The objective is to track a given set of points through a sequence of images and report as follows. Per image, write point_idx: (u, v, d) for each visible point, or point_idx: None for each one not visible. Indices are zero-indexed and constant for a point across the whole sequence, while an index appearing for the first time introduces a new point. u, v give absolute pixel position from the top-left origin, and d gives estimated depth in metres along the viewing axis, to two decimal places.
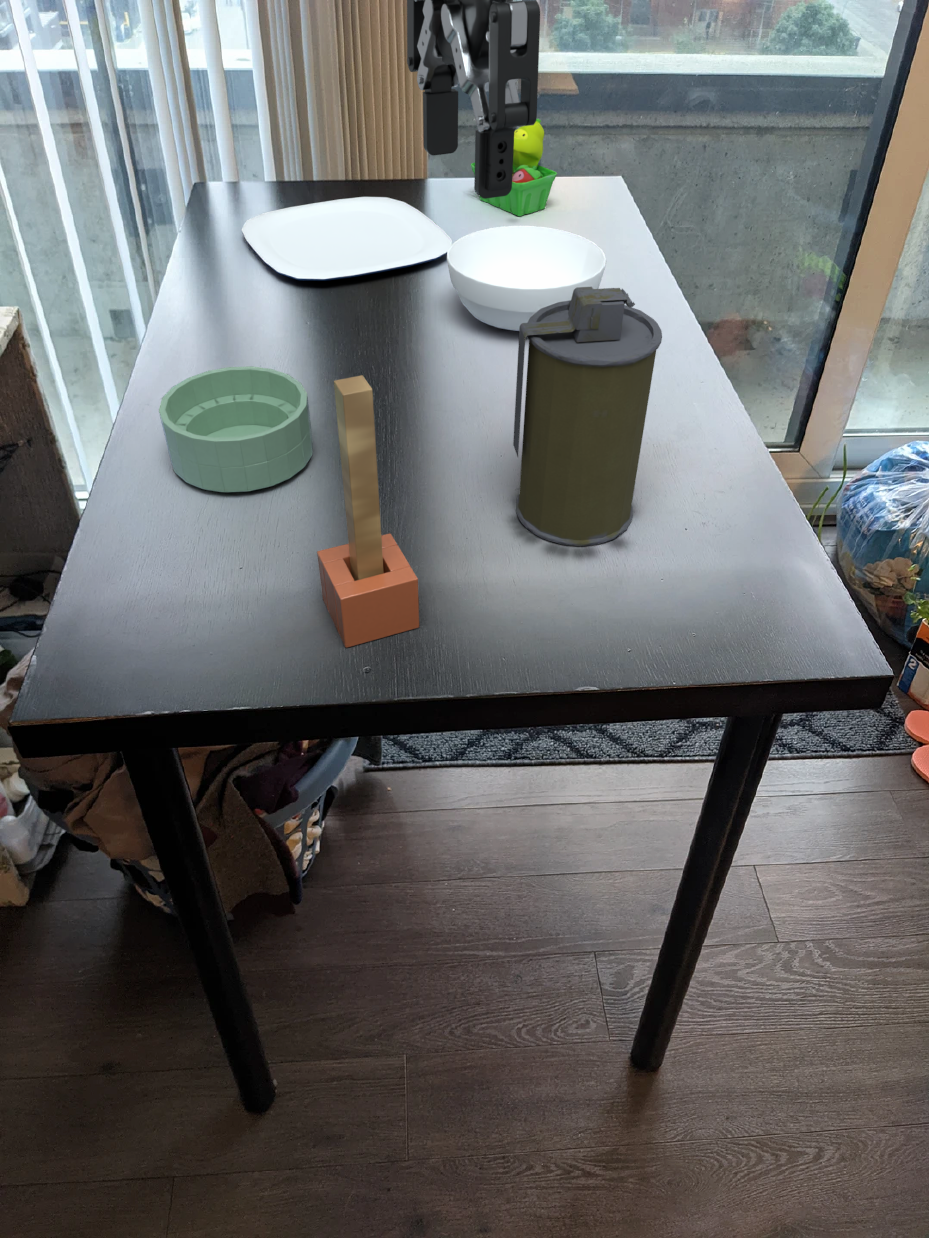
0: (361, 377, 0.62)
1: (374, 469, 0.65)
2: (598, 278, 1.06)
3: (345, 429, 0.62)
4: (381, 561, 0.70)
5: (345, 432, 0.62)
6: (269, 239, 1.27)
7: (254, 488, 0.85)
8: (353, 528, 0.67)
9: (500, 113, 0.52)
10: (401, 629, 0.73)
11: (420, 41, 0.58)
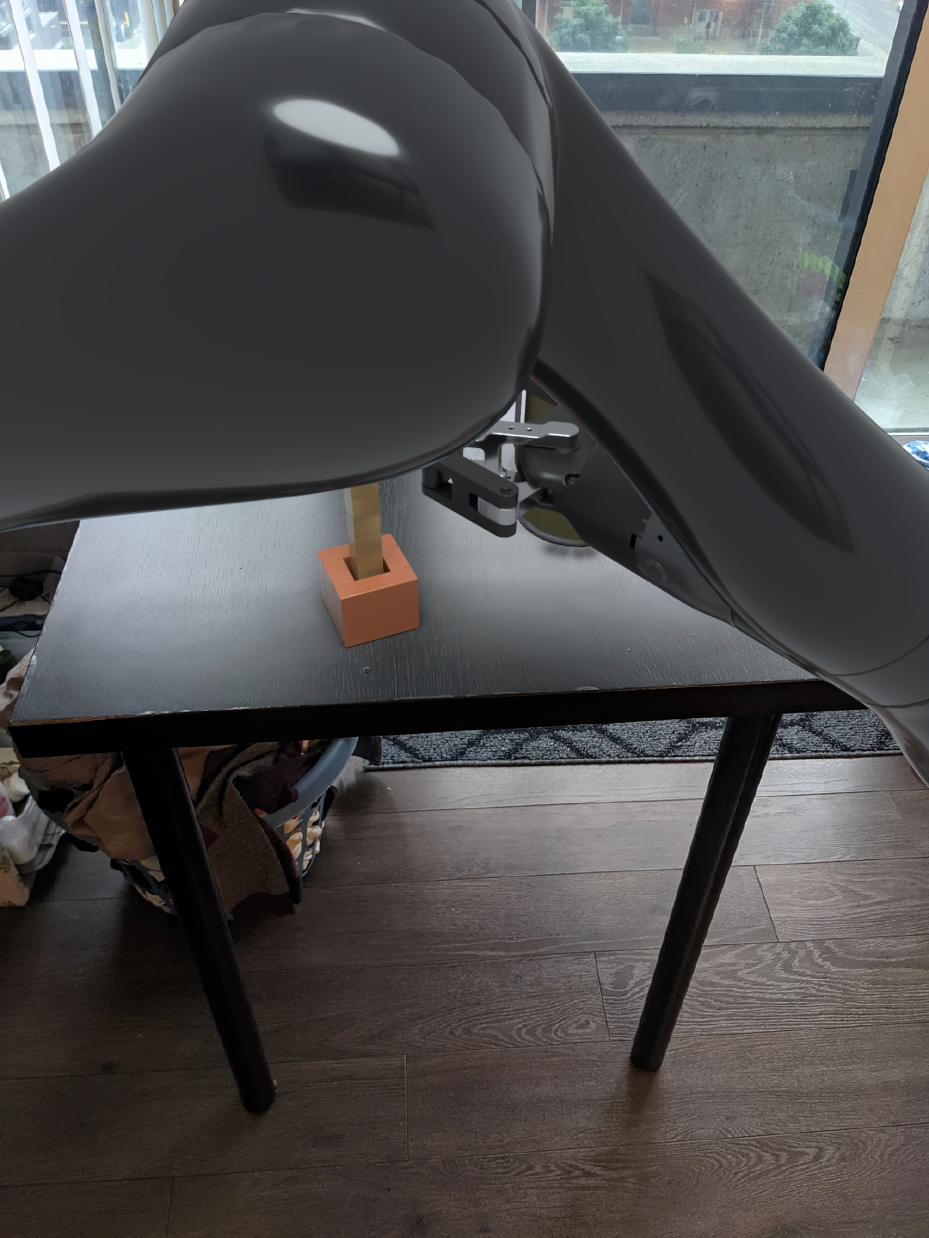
0: None
1: None
2: None
3: None
4: (381, 561, 0.70)
5: None
6: None
7: None
8: (353, 528, 0.67)
9: None
10: (401, 629, 0.73)
11: None
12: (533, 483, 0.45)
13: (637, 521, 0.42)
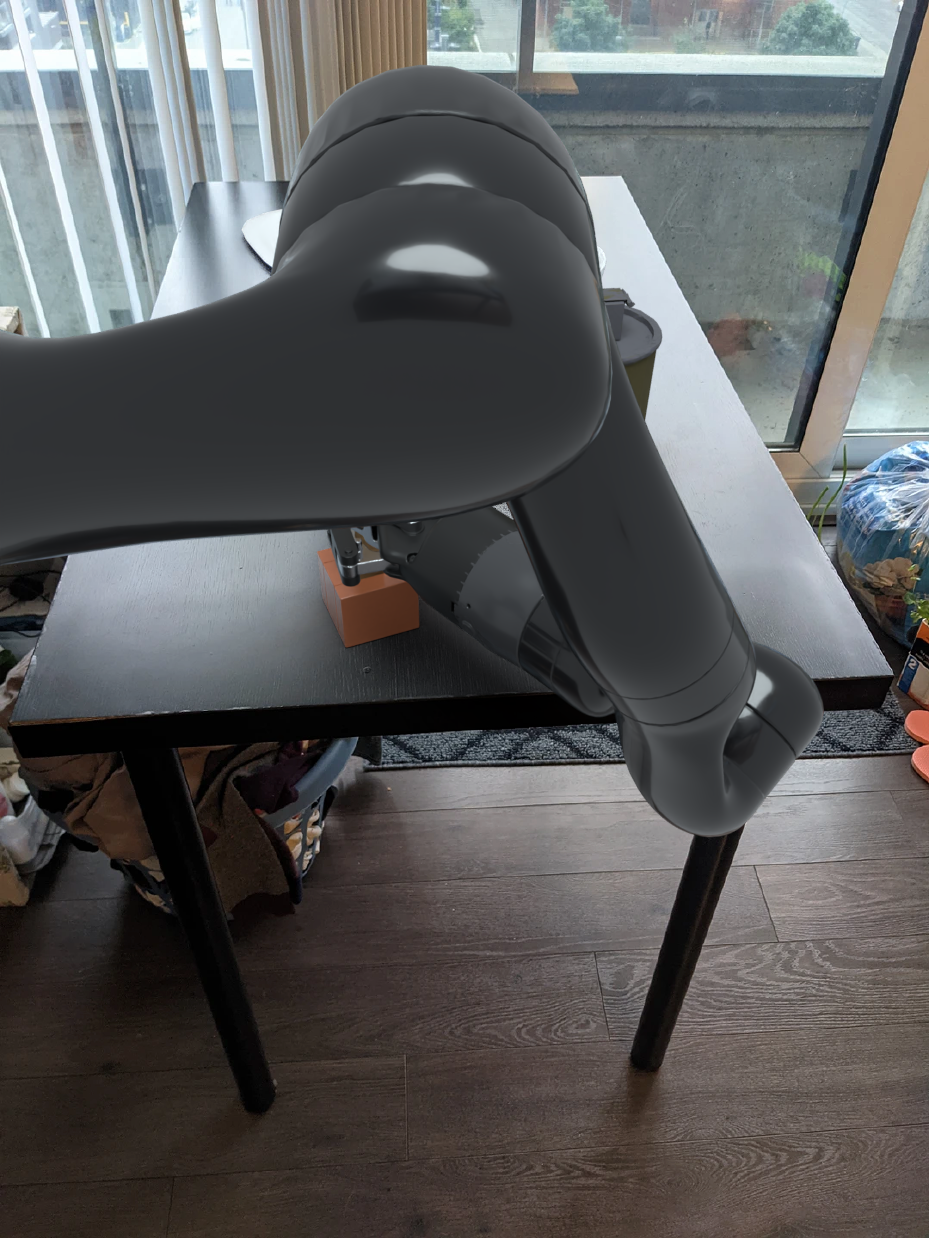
0: None
1: None
2: None
3: None
4: None
5: None
6: (269, 239, 1.27)
7: None
8: None
9: None
10: (401, 629, 0.73)
11: None
12: (380, 554, 0.60)
13: (454, 592, 0.57)
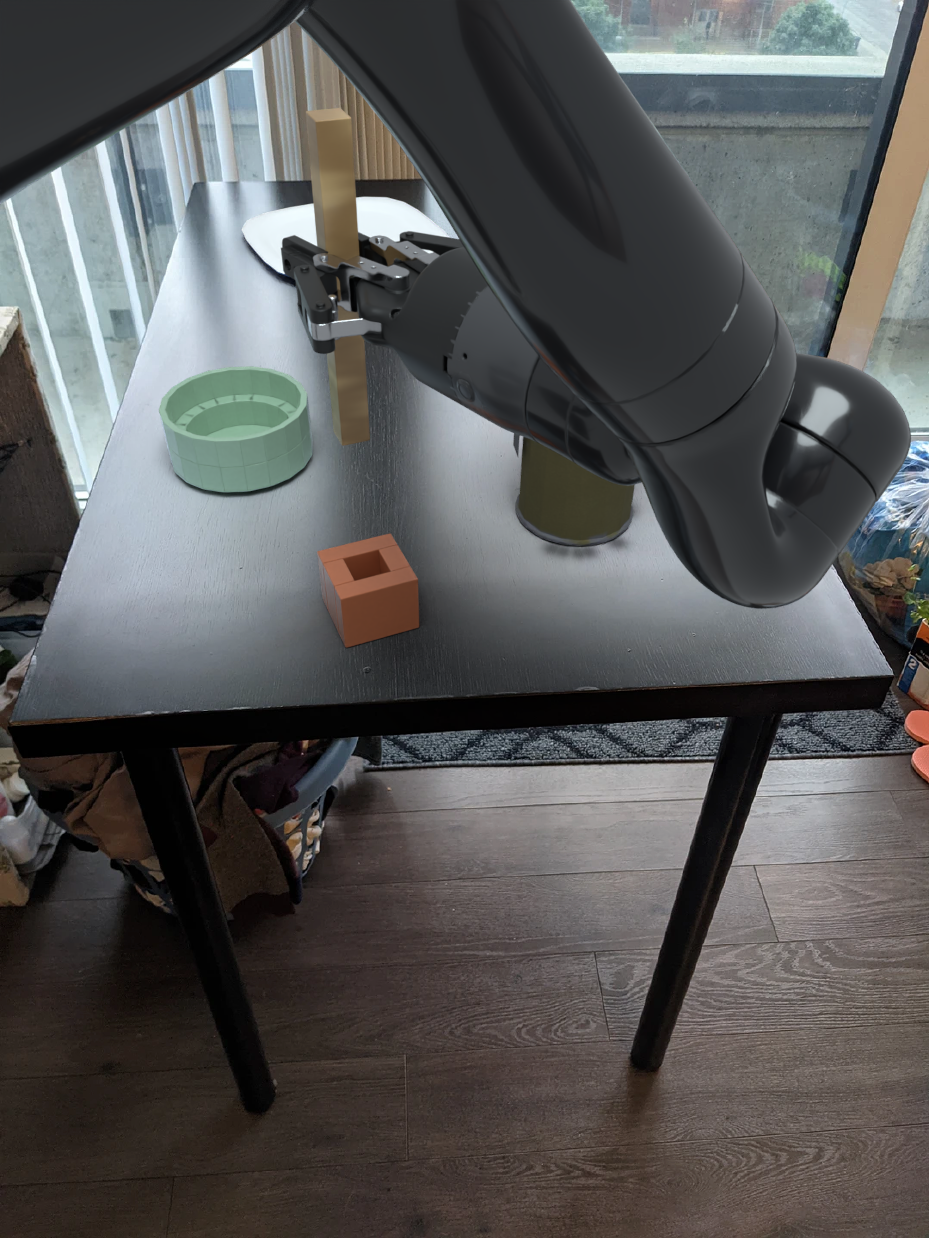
0: (338, 109, 0.52)
1: (354, 233, 0.55)
2: None
3: (319, 172, 0.52)
4: (363, 362, 0.60)
5: (319, 177, 0.52)
6: (269, 239, 1.27)
7: (254, 488, 0.85)
8: None
9: (295, 275, 0.52)
10: (401, 629, 0.73)
11: (410, 245, 0.54)
12: (359, 314, 0.50)
13: (447, 343, 0.47)
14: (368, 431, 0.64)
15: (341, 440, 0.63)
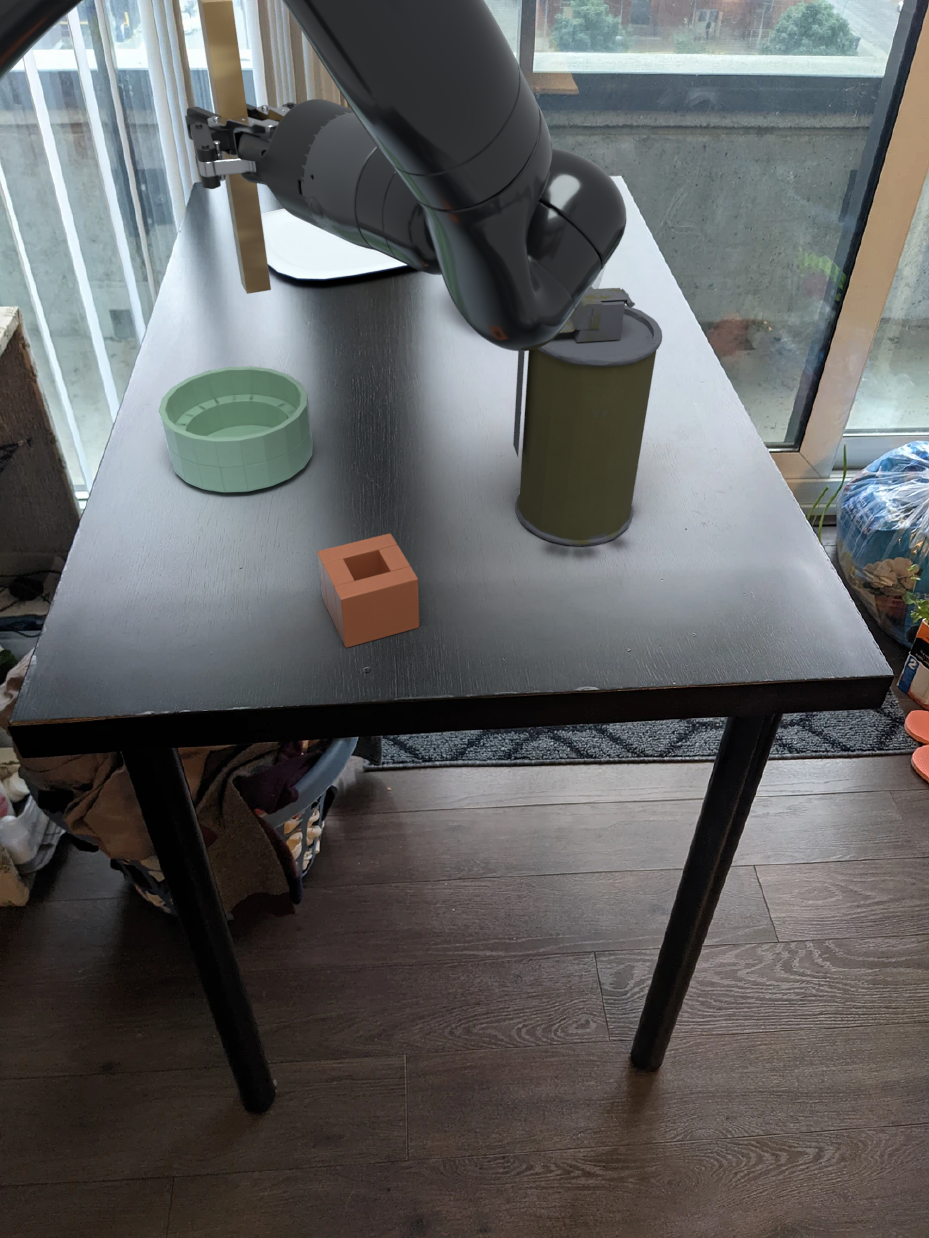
0: None
1: (242, 100, 0.67)
2: (598, 278, 1.06)
3: (209, 46, 0.64)
4: (259, 217, 0.73)
5: (209, 50, 0.65)
6: (269, 239, 1.27)
7: (254, 488, 0.85)
8: None
9: (190, 130, 0.65)
10: (401, 629, 0.73)
11: (286, 109, 0.67)
12: (238, 156, 0.63)
13: (299, 169, 0.59)
14: (268, 281, 0.76)
15: (246, 288, 0.76)
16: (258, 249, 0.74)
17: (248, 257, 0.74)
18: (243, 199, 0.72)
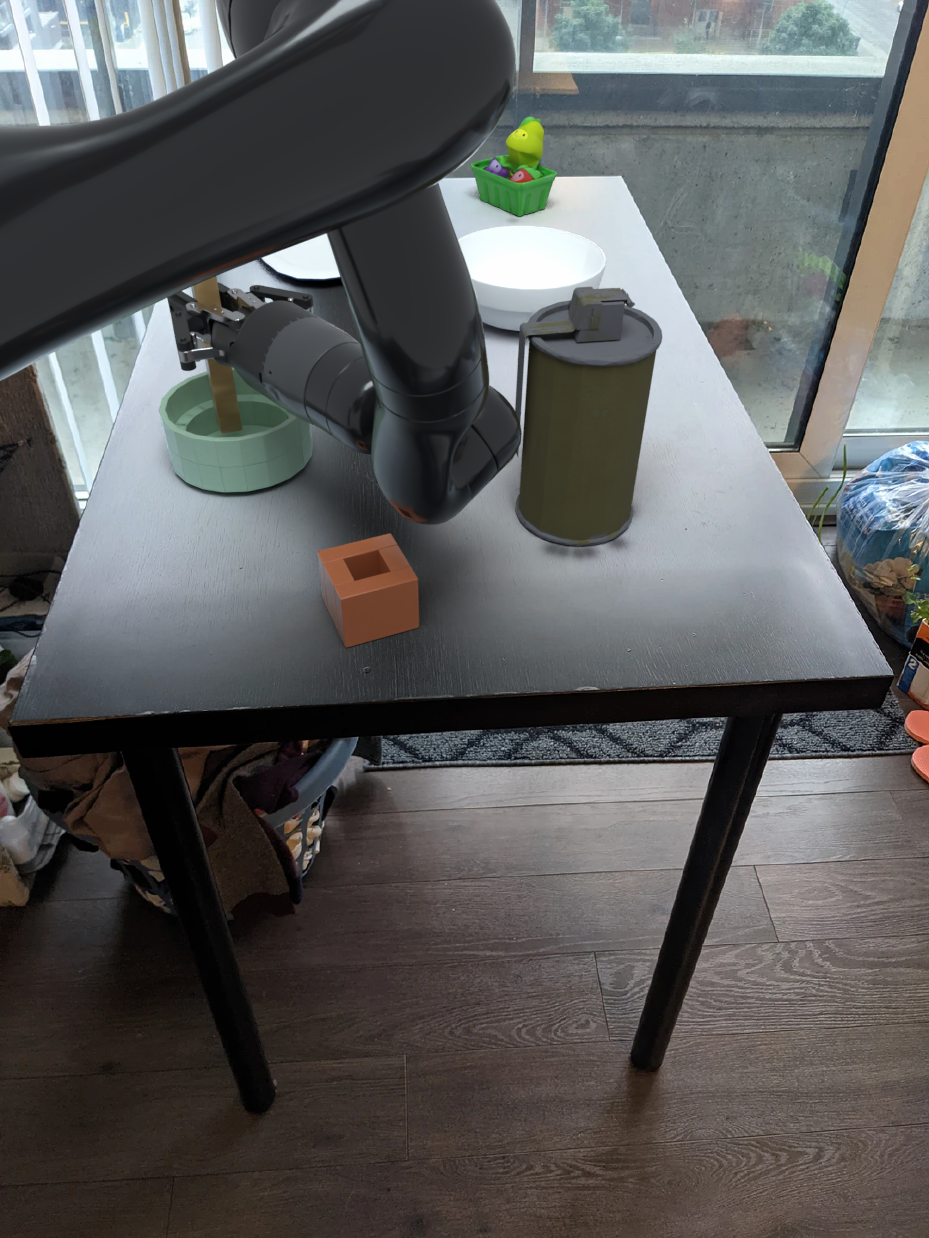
0: None
1: (215, 287, 0.80)
2: (598, 278, 1.06)
3: None
4: (231, 375, 0.86)
5: None
6: None
7: (254, 488, 0.85)
8: (203, 341, 0.83)
9: (171, 318, 0.78)
10: (401, 629, 0.73)
11: (252, 296, 0.79)
12: (210, 344, 0.76)
13: (260, 364, 0.72)
14: (240, 423, 0.89)
15: (220, 430, 0.89)
16: (230, 399, 0.87)
17: (222, 406, 0.87)
18: None
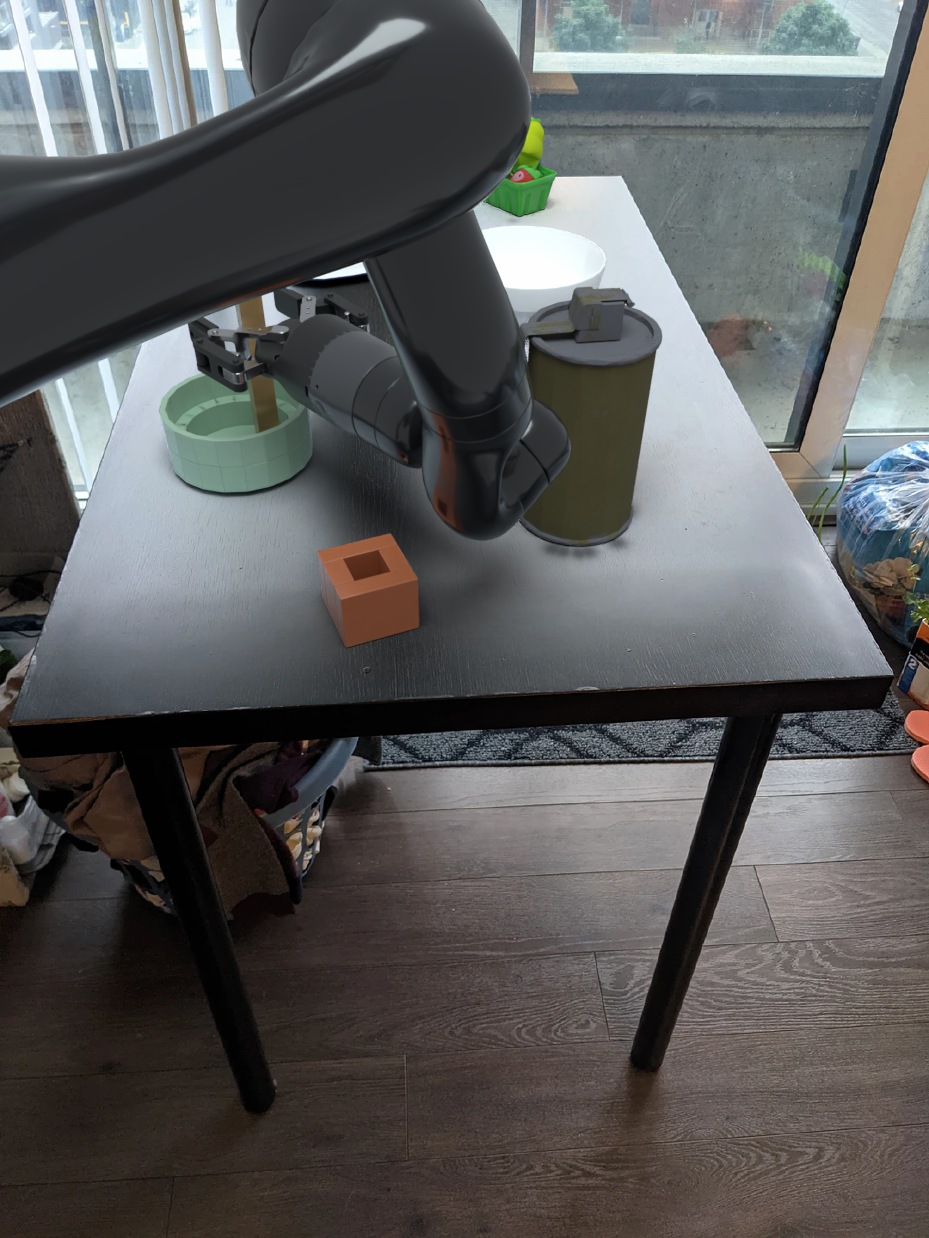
0: None
1: (261, 310, 0.81)
2: (598, 278, 1.06)
3: None
4: (274, 395, 0.87)
5: None
6: None
7: (254, 488, 0.85)
8: None
9: (196, 346, 0.76)
10: (401, 629, 0.73)
11: (312, 307, 0.80)
12: (257, 360, 0.75)
13: (306, 378, 0.72)
14: None
15: None
16: (272, 419, 0.88)
17: (264, 425, 0.88)
18: (260, 382, 0.85)
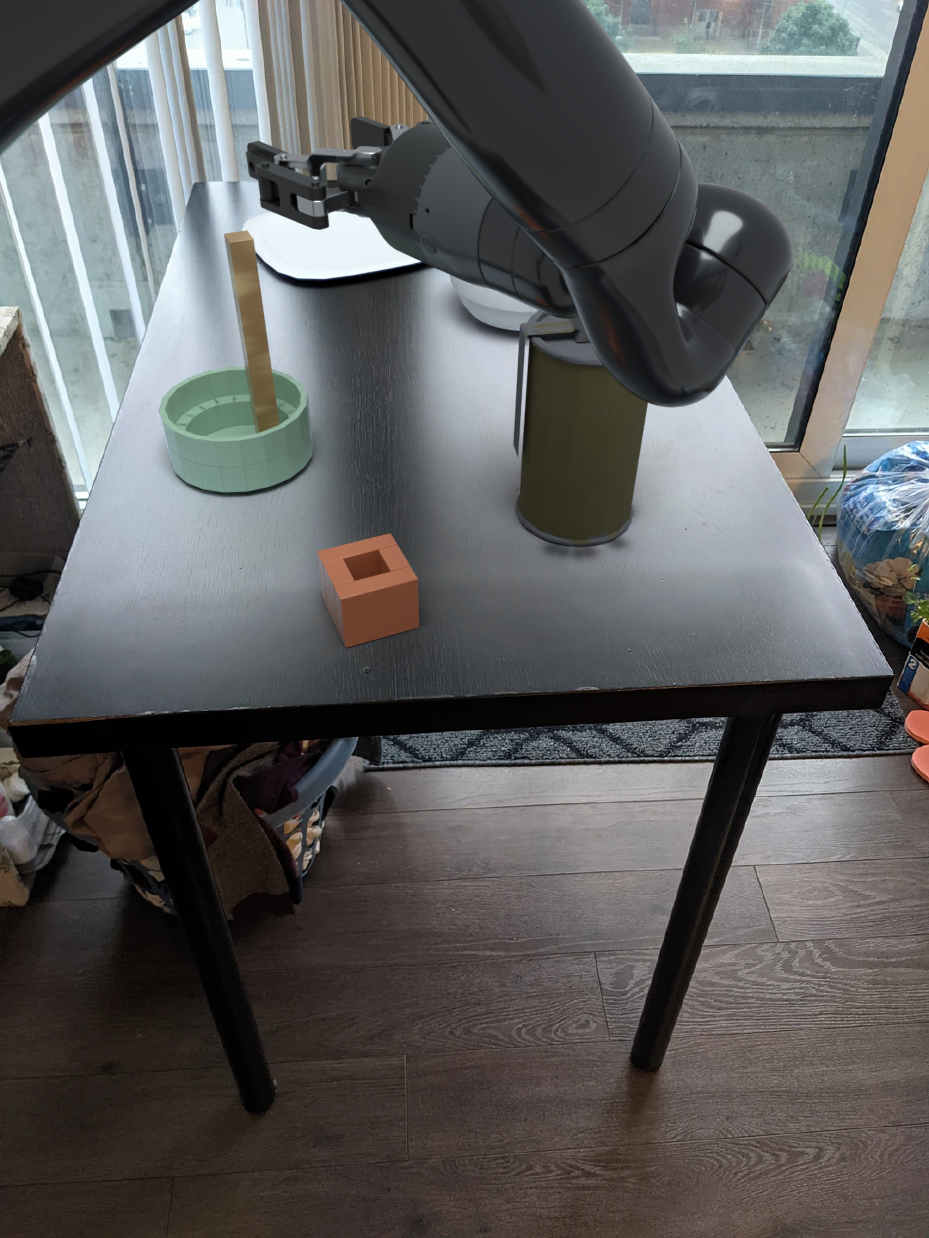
0: (246, 231, 0.78)
1: (261, 310, 0.81)
2: None
3: (234, 273, 0.78)
4: (274, 395, 0.87)
5: (234, 276, 0.78)
6: (269, 239, 1.27)
7: (254, 488, 0.85)
8: (248, 363, 0.84)
9: (260, 171, 0.58)
10: (401, 629, 0.73)
11: None
12: (342, 188, 0.57)
13: (412, 201, 0.54)
14: None
15: None
16: (272, 419, 0.88)
17: (264, 425, 0.88)
18: (260, 382, 0.85)
